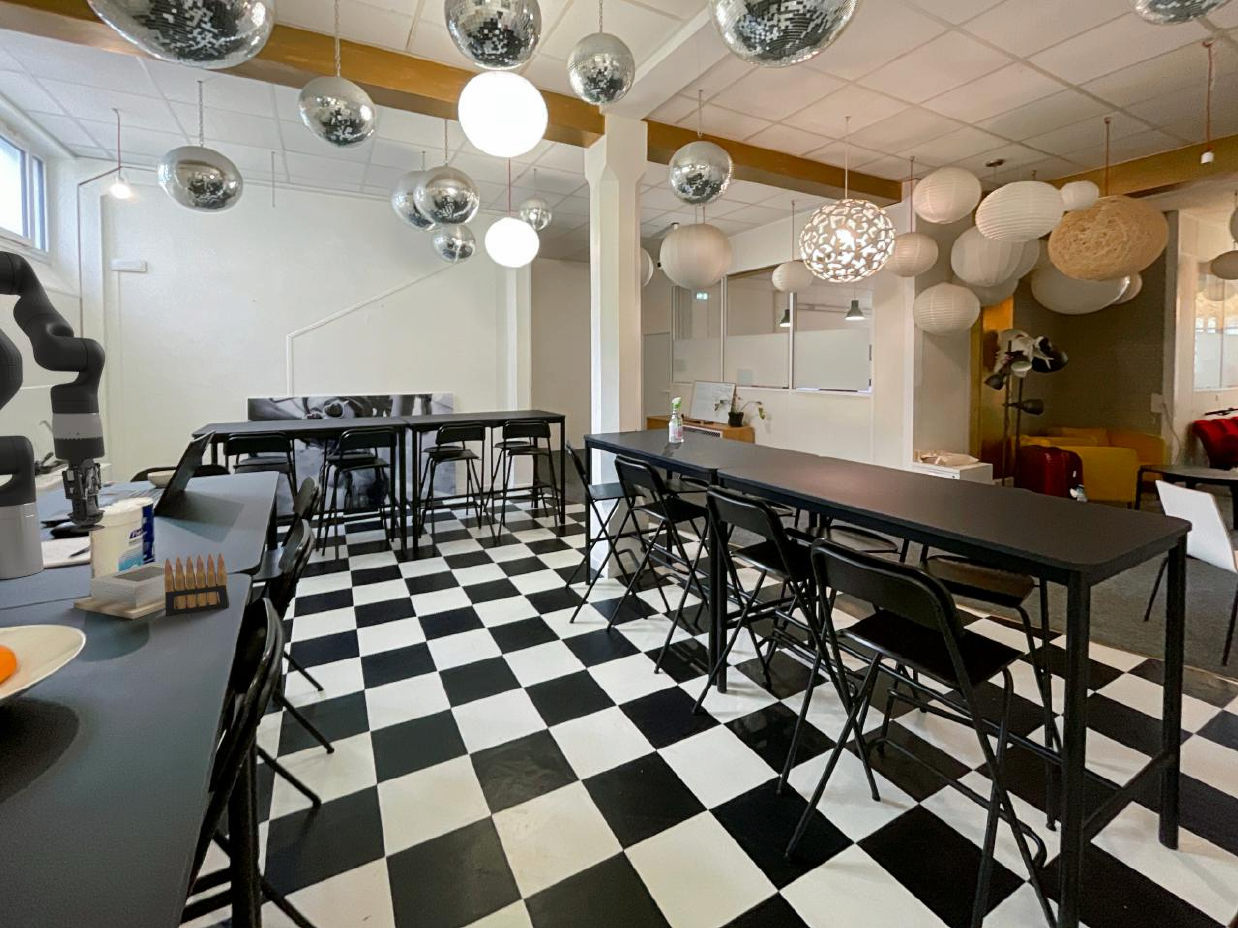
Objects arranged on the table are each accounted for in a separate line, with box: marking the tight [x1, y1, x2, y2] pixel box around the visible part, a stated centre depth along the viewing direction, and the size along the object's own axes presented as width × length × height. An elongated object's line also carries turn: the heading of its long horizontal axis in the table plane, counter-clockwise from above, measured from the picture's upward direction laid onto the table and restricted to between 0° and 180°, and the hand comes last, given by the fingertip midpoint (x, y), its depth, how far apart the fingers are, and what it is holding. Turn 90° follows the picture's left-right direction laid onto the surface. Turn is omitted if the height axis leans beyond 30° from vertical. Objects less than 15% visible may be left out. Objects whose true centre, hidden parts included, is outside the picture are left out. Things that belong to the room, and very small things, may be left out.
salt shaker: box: [66, 480, 106, 533], centre depth 120 cm, size 6×6×12 cm
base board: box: [72, 595, 187, 620], centre depth 125 cm, size 17×17×1 cm
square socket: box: [89, 561, 197, 608], centre depth 125 cm, size 13×13×4 cm
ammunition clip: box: [164, 552, 230, 617], centre depth 119 cm, size 11×2×12 cm, turn 120°
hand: (86, 514), depth 120 cm, fingers closed on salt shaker, 6 cm apart
